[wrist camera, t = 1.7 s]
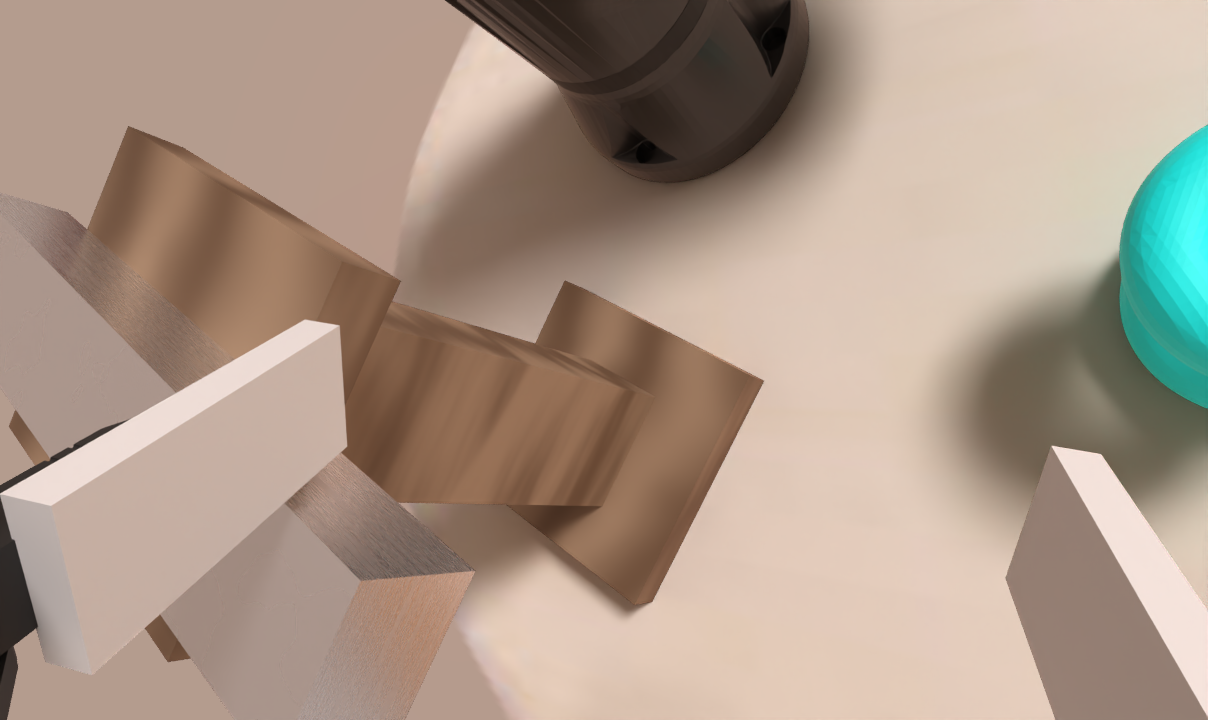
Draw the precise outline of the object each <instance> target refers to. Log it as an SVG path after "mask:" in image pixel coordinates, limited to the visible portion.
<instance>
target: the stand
mask: <svg viewBox="0 0 1208 720" xmlns="http://www.w3.org/2000/svg"><path fill="white" fill-rule="evenodd" d="M87 230H88V231H90V232H91V233H92V234H93V235H94V236H95V237H96V238H97V239H99V240H100V241H101V242H102V243H103V244H104V245H105V246H107V247H108V248H109V249H110V250H111V251H112V252H113V253H115V254H116V255H117V256H118V257H119V258H120V259H121V260H122V261H124V262H125V263H126V264H127V265H128V266H129V267H130V268H132V269H133V270H134V271H135V272H136V273H137V274H138V275H140V276H141V277H142V278H143V279H144V280H145V281H146V282H148V283H149V284H150V285H151V286H152V287H153V288H154V289H155V290H157V291H158V292H159V293H160V294H161V295H162V296H163V297H165V298H166V299H167V300H168V301H169V302H170V303H171V304H173V305H174V306H175V307H176V308H177V309H178V310H179V311H180V312H182V313H183V314H184V315H185V316H186V317H187V318H188V319H190V320H191V321H192V322H193V323H194V324H195V325H196V326H198V327H199V328H200V329H201V330H202V331H203V332H204V333H206V334H207V335H208V336H209V337H210V338H211V339H212V340H213V341H215V342H216V343H217V344H218V345H219V346H220V347H221V348H223V349H224V350H225V351H226V352H227V353H228V354H229V355H231V356H232V357H233V358H234V359H237V358H239V357H240V356H242V355H244V354H246V353H247V352H249V351H251V350H253V349H254V348H256V347H258V346H260V345H261V344H263V343H265V342H267V341H268V340H270V339H272V338H274V337H275V336H277V335H279V334H281V333H282V332H284V331H286V330H288V329H289V328H291V327H293V326H295V325H296V324H298V323H300V322H302V321H303V320H310V321H316V322H322V323H328V324H334V325H340V340H341V356H342V371H343V387H344V403H345V419H346V435H347V447H346V448H345V449H344V450H343V451H342V452H341V453H342V454H343V455H344V456H345V457H347V458H348V459H349V460H350V461H351V462H352V463H353V464H355V465H356V466H357V467H358V468H359V469H360V470H361V471H362V472H364V473H365V474H366V475H367V476H368V477H369V478H370V479H372V480H373V481H374V482H375V483H376V484H377V485H378V486H380V487H381V488H382V489H383V490H384V491H385V492H386V493H387V494H389V495H390V496H391V497H392V498H393V499H394V500H395V501H397V502H400V503H454V504H506V505H507V506H509V507H510V508H511V509H512V510H514V511H515V512H516V513H517V514H519V515H520V516H521V517H523V518H524V519H525V520H526V521H528V522H529V523H530V524H532V525H533V526H534V527H535V528H537V529H538V530H539V531H540V532H542V533H543V534H544V535H546V536H547V537H548V538H549V539H551V540H552V541H553V542H555V543H556V544H557V545H558V546H560V547H561V548H562V549H563V550H565V551H566V552H567V553H569V554H570V555H571V556H572V557H574V558H575V559H576V560H578V561H579V562H580V563H581V564H583V565H584V566H585V567H587V568H588V569H589V570H590V571H592V572H593V573H594V574H595V575H597V576H598V577H599V578H601V579H602V580H603V581H604V582H606V583H607V584H608V585H610V586H611V587H612V588H613V589H615V590H616V591H617V592H618V593H620V594H621V595H622V596H624V597H625V598H626V599H627V600H629V601H630V602H631V603H633V604H634V605H637V604H642V603H648V602H652V601H653V599H654V597H655V595H656V593H657V591H658V589H659V587H660V585H661V583H662V581H663V579H664V577H665V576H666V574H667V572H668V570H669V568H670V566H671V564H672V562H673V560H674V558H675V556H676V554H677V552H678V550H679V548H680V546H681V544H682V542H683V540H684V538H685V536H686V534H687V532H688V530H689V528H690V526H691V524H692V522H693V520H694V518H695V516H696V514H697V512H698V510H699V508H700V506H701V504H702V502H703V500H704V498H705V496H706V494H707V492H708V490H709V489H710V487H711V485H712V483H713V481H714V479H715V477H716V475H717V473H718V471H719V469H720V467H721V465H722V463H723V461H724V459H725V457H726V455H727V453H728V451H729V449H730V447H731V445H732V443H733V441H734V439H735V437H736V435H737V433H738V431H739V429H740V427H741V425H742V423H743V421H744V419H745V417H746V415H747V413H748V411H749V409H750V407H751V405H752V403H753V402H754V400H755V398H756V396H757V394H758V392H759V390H760V388H761V386H762V384H763V382H764V381H763V380H761V379H759V378H758V377H756V376H754V375H752V374H750V373H748V372H746V371H744V370H742V369H740V368H738V367H736V366H734V365H732V364H730V363H728V362H726V361H724V360H722V359H720V358H718V357H716V356H714V355H712V354H711V353H709V352H707V351H705V350H703V349H701V348H699V347H697V346H695V345H693V344H691V343H689V342H687V341H685V340H683V339H681V338H679V337H677V336H675V335H673V334H671V333H669V332H667V331H665V330H664V329H662V328H660V327H658V326H656V325H654V324H652V323H650V322H648V321H646V320H644V319H642V318H640V317H638V316H636V315H634V314H632V313H630V312H628V311H626V310H624V309H622V308H620V307H618V306H617V305H615V304H613V303H611V302H609V301H607V300H605V299H603V298H601V297H599V296H597V295H595V294H593V293H591V292H589V291H587V290H585V289H583V288H581V287H579V286H576V285H574V284H572V283H569V282H567V281H564V283H563V285H562V288H561V290H560V292H559V294H558V296H557V298H556V300H555V303H554V305H553V307H552V309H551V311H550V313H549V315H548V317H547V320H546V322H545V324H544V326H543V328H542V330H541V332H540V334H539V337H538V339H537V341H536V343H535V344H534V343H531V342H528V341H524V340H521V339H517V338H514V337H511V336H507V335H504V334H500V333H497V332H494V331H490V330H487V329H484V328H480V327H477V326H473V325H470V324H467V323H463V322H460V321H456V320H453V319H450V318H446V317H443V316H439V315H436V314H433V313H429V312H426V311H422V310H419V309H416V308H412V307H409V306H406V305H402V304H399V303H395V302H392V299H393V297H394V295H395V293H396V290H397V288H398V286H399V284H400V282H401V281H400V280H398V279H397V278H395V277H393V276H392V275H390V274H388V273H387V272H385V271H384V270H382V269H380V268H379V267H377V266H375V265H374V264H372V263H371V262H369V261H367V260H366V259H364V258H362V257H361V256H359V255H357V254H356V253H354V252H353V251H351V250H349V249H348V248H346V247H344V246H343V245H341V244H340V243H338V242H336V241H335V240H333V239H331V238H330V237H328V236H327V235H325V234H323V233H322V232H320V231H318V230H317V229H315V228H313V227H312V226H310V225H309V224H307V223H305V222H303V221H302V220H300V219H299V218H297V217H296V216H294V215H292V214H291V213H289V212H287V211H286V210H284V209H283V208H281V207H279V206H278V205H276V204H274V203H273V202H271V201H269V200H268V199H266V198H265V197H263V196H261V195H260V194H258V193H256V192H255V191H253V190H252V189H250V188H248V187H247V186H245V185H243V184H242V183H240V182H238V181H237V180H235V179H234V178H232V177H230V176H229V175H227V174H225V173H223V172H222V171H221V170H219V169H217V168H216V167H214V166H212V165H211V164H209V163H207V162H206V161H204V160H203V159H201V158H199V157H198V156H196V155H194V154H193V153H191V152H190V151H188V150H186V149H185V148H183V147H180V146H178V145H175V144H172V143H170V142H168V141H165V140H162V139H160V138H157V137H155V136H152V135H150V134H147V133H145V132H142V131H139V130H137V129H134V128H132V127H129V126H128V128H127V131H126V133H125V136H124V138H123V141H122V143H121V146H120V148H119V151H118V153H117V156H116V158H115V161H114V164H113V166H112V169H111V171H110V173H109V176H108V179H107V181H106V183H105V186H104V189H103V191H102V194H101V196H100V199H99V201H98V204H97V206H96V209H95V211H94V214H93V216H92V219H91V221H90V224H89V226H88V229H87ZM9 427H10V429H11V430H12V432H13V433H14V435H15V436H16V438H17V439H18V441H19V442H20V444H21V445H22V447H23V448H24V450H25V451H26V453H27V454H28V456H29V457H30V459H31V460H32V461H33V463H34V464H35V466H36V465H37V464H39V463H41V462H43V461H44V460H45V461H50V458H49V456H48V455H47V453H46V452H45V451H44V449H43V448H42V446H41V445H40V444H39V442H38V441H37V439H36V438H35V436H34V435H33V434H32V432H31V431H30V429H29V428H28V427H27V425H26V424H25V422H24V421H23V419H22V418H21V417H20V415H19V414H18V412H17V411H16V410H15V412H14V415H13V417H12V420H11V423H10V425H9ZM145 629H146V630H147V632H148V633H149V635H150V636H151V638H152V639H153V641H154V642H155V644H156V645H157V647H158V648H159V650H160V651H161V653H162V654H163V656H164V657H165V659H166V660H167V661H168V662H171V661H178V660H184V659H191V658H190V656H189V655H188V653H187V652H186V651H185V649H184V648H183V646H182V645H181V643H180V642H179V641H178V639H177V638H176V636H175V635H174V634H173V632H172V631H171V629H170V628H169V626H168V625H167V624H166V622H165V621H164V619H163V618H162V617H161V615H159V616H157V617H156V618H155V619H154V620H153V621H152V622H151V623H150V624H149V625H147V626H146V627H145Z"/></svg>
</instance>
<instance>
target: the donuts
mask: <svg viewBox="0 0 1208 720" xmlns="http://www.w3.org/2000/svg"><path fill="white" fill-rule="evenodd" d="M1119 260H1120V271H1121V278H1122V279H1121V285H1120V296H1119V302H1120V314H1121V320H1122V324H1123V328H1124V331H1125V334H1126V336H1127V339H1128V341H1129V343H1130V345H1131V347H1132V349H1133V350H1134V352H1135V354H1136V355H1137V357H1138V358H1139V359H1140V361H1141V362H1142V363H1143V365H1144V366H1145V367H1146V368H1147V369H1148V370H1149V371H1150V372H1151V373H1152V374H1153V375H1154V376H1155V377H1156V378H1157V379H1158V380H1159V381H1160V382H1161V383H1163V384H1164V385H1165V386H1167V387H1168V388H1169V389H1171V390H1172V391H1174V392H1175V393H1177V394H1178V395H1180V396H1182V397H1183V398H1185V399H1187V400H1189V401H1191V402H1193V403H1195V404H1197V405H1200V406H1202V407H1204V408H1207V409H1208V125H1206V126H1204V127H1203V128H1201V129H1200V130H1198V131H1197V132H1195V133H1193V134H1192V135H1191V136H1189V137H1188V138H1187V139H1185V140H1184V141H1183V142H1181V143H1180V144H1179V145H1178V146H1176V147H1175V148H1174V149H1173V150H1172V151H1171V152H1170V153H1168V154H1167V155H1166V156H1165V157H1164V158H1163V159H1162V160H1161V161H1160V162H1159V163H1158V164H1157V165H1156V167H1155V168H1154V169H1153V170H1152V171H1151V173H1150V174H1149V175H1148V176H1147V178H1146V179H1145V180H1144V182H1143V183H1142V185H1141V186H1140V188H1139V189H1138V191H1137V193H1136V195H1135V196H1134V198H1133V201H1132V203H1131V205H1130V207H1129V209H1128V212H1127V215H1126V218H1125V220H1124V224H1123V229H1122V233H1121V240H1120V253H1119Z"/></svg>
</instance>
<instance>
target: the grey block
mask: <svg viewBox="0 0 1208 720" xmlns="http://www.w3.org/2000/svg"><path fill="white" fill-rule="evenodd" d="M233 360H235V359H234V358H233V357H232V356H231V355H229V354H228V353H227V352H226V351H225V350H224V349H223V348H221V347H220V346H219V345H218V344H217V343H216V342H215V341H213V340H212V339H211V338H210V337H209V336H208V335H207V334H206V333H204V332H203V331H202V330H201V329H200V328H199V327H198V326H196V325H195V324H194V323H193V322H192V321H191V320H190V319H188V318H187V317H186V316H185V315H184V314H183V313H182V312H180V311H179V310H178V309H177V308H176V307H175V306H174V305H173V304H171V303H170V302H169V301H168V300H167V299H166V298H165V297H163V296H162V295H161V294H160V293H159V292H158V291H157V290H155V289H154V288H153V287H152V286H151V285H150V284H149V283H148V282H146V281H145V280H144V279H143V278H142V277H141V276H140V275H138V274H137V273H136V272H135V271H134V270H133V269H132V268H130V267H129V266H128V265H127V264H126V263H125V262H124V261H122V260H121V259H120V258H119V257H118V256H117V255H116V254H115V253H113V252H112V251H111V250H110V249H109V248H108V247H107V246H105V245H104V244H103V243H102V242H101V241H100V240H99V239H97V238H96V237H95V236H94V235H93V234H92V233H91V232H90V231H88V230H87V229H86V228H85V227H84V226H83V225H82V224H80V223H79V222H78V221H77V220H76V219H75V218H74V217H72V216H71V215H70V214H69V213H68V212H65V211H61V210H58V209H54V208H51V207H47V206H44V205H41V204H37V203H34V202H30V201H27V200H23V199H20V198H16V197H13V196H9V195H6V194H2V193H0V388H1V390H2V391H3V392H4V394H5V395H6V397H7V398H8V399H9V401H10V402H11V404H12V405H13V407H14V408H15V409H16V411H17V412H18V414H19V415H20V417H21V418H22V419H23V421H24V422H25V424H26V425H27V427H28V428H29V429H30V431H31V432H32V434H33V435H34V436H35V438H36V439H37V441H38V442H39V444H40V445H41V446H42V448H43V449H44V451H45V452H46V453H47V455H48V456H49V458H50V457H52V456H53V455H55V454H57V453H59V452H61V451H62V450H64V449H66V448H68V447H69V448H73V446H74V444H75V443H77V442H78V441H80V440H82V439H84V438H85V437H87V436H89V435H91V434H93V433H94V432H96V431H98V430H100V429H102V428H104V427H107V426H110V425H113V424H116V423H119V422H123V421H126V420H129V419H132V418H133V417H135V416H137V415H139V414H140V413H142V412H144V411H146V410H147V409H149V408H151V407H153V406H154V405H156V404H158V403H160V402H161V401H163V400H165V399H167V398H168V397H170V396H172V395H174V394H175V393H177V392H179V391H181V390H182V389H184V388H186V387H188V386H189V385H191V384H193V383H195V382H196V381H198V380H200V379H202V378H203V377H205V376H207V375H209V374H211V373H212V372H214V371H216V370H218V369H219V368H221V367H223V366H225V365H226V364H228V363H230V362H232V361H233ZM474 573H475V570H474V569H473V568H472V567H471V566H469V565H468V564H467V563H466V562H465V561H464V560H463V559H461V558H460V557H459V556H458V555H457V554H456V553H455V552H453V551H452V550H451V549H450V548H449V547H448V546H447V545H445V544H444V543H443V542H442V541H441V540H440V539H439V538H438V537H436V536H435V535H434V534H433V533H432V532H431V531H430V530H428V529H427V528H426V527H425V526H424V525H423V524H422V523H420V522H419V521H418V520H417V519H416V518H415V517H414V516H413V515H411V514H410V513H409V512H408V511H407V510H405V509H404V508H403V507H402V506H401V505H400V504H399V503H398V502H397V501H395V500H394V499H393V498H392V497H391V496H390V495H389V494H387V493H386V492H385V491H384V490H383V489H382V488H381V487H380V486H378V485H377V484H376V483H375V482H374V481H373V480H372V479H370V478H369V477H368V476H367V475H366V474H365V473H364V472H362V471H361V470H360V469H359V468H358V467H357V466H356V465H355V464H353V463H352V462H351V461H350V460H349V459H348V458H347V457H345V456H344V455H343V454H342V453H339V454H338V455H337V456H336V457H335V458H334V459H333V460H332V461H330V462H329V463H328V464H327V465H326V466H325V467H324V468H323V469H322V470H320V471H319V472H318V473H317V474H316V475H315V476H314V477H313V478H311V479H310V480H309V481H308V482H307V483H306V484H305V485H304V486H303V487H301V488H300V489H299V490H298V491H297V492H296V493H295V494H294V495H293V496H291V497H290V498H289V499H288V500H287V501H286V502H285V503H284V504H282V505H281V506H280V507H279V508H278V509H277V510H276V511H275V512H274V513H272V514H271V515H270V516H269V517H268V518H267V519H266V520H265V521H263V522H262V523H261V524H260V525H259V526H258V527H257V528H256V529H255V530H253V531H252V532H251V533H250V534H249V535H248V536H247V537H246V538H245V539H243V540H242V541H241V542H240V543H239V544H238V545H237V546H236V547H234V548H233V549H232V550H231V551H230V552H229V553H228V554H227V555H226V556H224V557H223V558H222V559H221V560H220V561H219V562H218V563H217V564H216V565H214V566H213V567H212V568H211V569H210V570H209V571H208V572H207V573H205V574H204V575H203V576H202V577H201V578H200V579H199V580H198V581H197V582H195V583H194V584H193V585H192V586H191V587H190V588H189V589H188V590H186V591H185V592H184V593H183V594H182V595H181V596H180V597H179V598H178V599H176V600H175V601H174V602H173V603H172V604H171V605H170V606H169V607H168V608H166V609H165V610H164V611H163V612H162V613H161V614H160V615H161V617H162V618H163V619H164V621H165V622H166V624H167V625H168V626H169V628H170V629H171V631H172V632H173V634H174V635H175V636H176V638H177V639H178V641H179V642H180V643H181V645H182V646H183V648H184V649H185V651H186V652H187V653H188V655H189V656H190V658H191V659H192V661H194V663H195V664H196V666H197V667H198V669H199V670H200V672H201V673H202V675H203V676H204V678H205V679H206V680H207V682H208V683H209V685H210V686H211V687H212V689H213V690H214V691H215V693H216V694H217V696H218V697H219V699H220V700H221V702H222V703H223V704H224V706H225V707H226V709H227V710H228V711H229V713H230V714H231V716H232V717H233V718H234V720H405V718H406V716H407V714H408V712H409V710H410V708H411V705H412V704H413V702H414V699H415V697H416V695H417V693H418V691H419V689H420V687H421V685H422V683H423V680H424V678H425V676H426V674H427V672H428V670H429V668H430V666H431V664H432V662H433V659H434V657H435V655H436V653H437V651H438V649H439V647H440V645H441V643H442V641H443V638H444V636H445V634H446V632H447V630H448V628H449V626H450V624H451V622H452V620H453V617H454V615H455V613H456V611H457V609H458V607H459V605H460V603H461V601H462V599H463V596H464V594H465V592H466V590H467V588H468V586H469V584H470V582H471V580H472V577H473V575H474Z"/></svg>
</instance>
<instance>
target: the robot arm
mask: <svg viewBox="0 0 1208 720" xmlns="http://www.w3.org/2000/svg"><path fill="white" fill-rule="evenodd" d="M445 1H447V2H448V3H449V4H451V5H452V6H453V7H455V8H456V9H457V10H459V11H460V12H462V13H463V14H465V15H466V16H467V17H468V18H470V19H471V20H472V21H474V22H475V23H476V24H478V25H479V26H480V27H482V28H483V29H484V30H486V31H487V32H488V33H490V34H491V35H492V36H494V37H495V38H496V39H498V40H499V41H500V42H502V43H503V44H504V45H506V46H507V47H509V48H510V49H511V50H513V51H514V52H515V53H517V54H518V55H519V56H521V57H522V58H523V59H525V60H526V61H527V62H529V63H530V64H531V65H533V66H534V67H535V68H537V69H538V70H539V71H541V72H542V73H543V74H545V75H546V76H547V77H549V78H550V79H551V80H553V81H554V82H555V83H556V84H557V86H558V87H559V89H560V91H561V93H562V95H563V97H564V99H565V100H566V102H567V104H568V106H569V108H570V110H571V112H572V113H573V115H574V117H575V119H576V121H577V123H578V125H579V126H580V128H581V130H582V132H583V134H584V135H585V137H586V138H587V140H588V141H589V142H590V143H591V144H592V146H593V147H594V148H595V149H596V150H597V151H598V152H599V153H600V154H602V155H603V156H604V157H605V158H607V159H608V160H610V161H611V162H612V163H614V164H615V165H617V166H618V167H620V168H621V169H622V170H624V171H626V172H627V173H629V174H631V175H633V176H636V177H638V178H641V179H645V180H649V181H655V182H679V181H686V180H691V179H695V178H698V177H701V176H704V175H707V174H710V173H712V172H714V171H716V170H718V169H720V168H722V167H724V166H726V165H728V164H729V163H731V162H733V161H734V160H736V159H737V158H739V157H740V156H742V155H743V154H744V153H745V152H747V151H748V150H749V149H750V148H752V147H753V146H754V145H755V144H756V143H757V142H758V141H759V140H760V139H761V138H762V137H763V136H764V135H765V134H766V133H767V132H768V131H769V130H770V128H771V127H772V126H773V125H774V123H775V122H776V121H777V120H778V118H779V117H780V115H781V114H782V113H783V111H784V110H785V108H786V106H787V105H788V103H789V101H790V99H791V97H792V96H793V94H794V92H795V89H796V87H797V85H798V83H799V80H800V77H801V75H802V71H803V68H804V65H805V61H806V56H807V50H808V42H809V22H808V14H807V9H806V5H805V1H804V0H445ZM346 447H347V435H346V419H345V403H344V387H343V371H342V356H341V340H340V325H334V324H328V323H322V322H316V321H310V320H303V321H302V322H300V323H298V324H296V325H295V326H293V327H291V328H289V329H288V330H286V331H284V332H282V333H281V334H279V335H277V336H275V337H274V338H272V339H270V340H268V341H267V342H265V343H263V344H261V345H260V346H258V347H256V348H254V349H253V350H251V351H249V352H247V353H246V354H244V355H242V356H240V357H239V358H237V359H235V360H233V361H232V362H230V363H228V364H226V365H225V366H223V367H221V368H219V369H218V370H216V371H214V372H212V373H211V374H209V375H207V376H205V377H203V378H202V379H200V380H198V381H196V382H195V383H193V384H191V385H189V386H188V387H186V388H184V389H182V390H181V391H179V392H177V393H175V394H174V395H172V396H170V397H168V398H167V399H165V400H163V401H161V402H160V403H158V404H156V405H154V406H153V407H151V408H149V409H147V410H146V411H144V412H142V413H140V414H139V415H137V416H135V417H133V418H132V419H129V420H126V421H123V422H119V423H116V424H113V425H110V426H107V427H104V428H102V429H100V430H98V431H96V432H94V433H93V434H91V435H89V436H87V437H85V438H84V439H82V440H80V441H78V442H77V443H75V444H74V446H73V448H69V447H68V448H66V449H64V450H62V451H61V452H59V453H57V454H55V455H53V456H52V457H50V461H45V460H44V461H43V462H41V463H39V464H37V465H36V466H34V467H32V468H30V469H28V470H27V471H25V472H23V473H21V474H20V475H18V476H16V477H14V478H13V479H11V480H9V481H7V482H5V483H3V484H2V485H0V720H7V717H8V712H9V707H10V703H11V698H12V693H13V688H14V684H15V679H16V674H17V670H18V664H17V657H16V653H15V650H14V647H13V646H14V645H15V644H16V643H18V642H19V641H20V640H21V639H23V638H24V637H25V636H27V635H28V634H29V633H30V632H32V631H33V630H34V629H35V628H36V629H37V633H38V637H39V640H40V644H41V648H42V652H43V655H44V659H45V662H47V663H51V664H54V665H58V666H62V667H65V668H69V669H72V670H76V671H80V672H83V673H87V674H90V675H93V674H94V673H95V672H96V671H97V670H98V669H99V668H100V667H102V666H103V665H104V664H105V663H106V662H107V661H108V660H109V659H110V658H112V657H113V656H114V655H115V654H116V653H117V652H118V651H119V650H121V649H122V648H123V647H124V646H125V645H126V644H127V643H128V642H130V641H131V640H132V639H133V638H134V637H135V636H136V635H137V634H139V633H140V632H141V631H142V630H143V629H144V628H145V627H146V626H147V625H149V624H150V623H151V622H152V621H153V620H154V619H155V618H156V617H157V616H159V615H160V614H161V613H162V612H163V611H164V610H165V609H166V608H168V607H169V606H170V605H171V604H172V603H173V602H174V601H175V600H176V599H178V598H179V597H180V596H181V595H182V594H183V593H184V592H185V591H186V590H188V589H189V588H190V587H191V586H192V585H193V584H194V583H195V582H197V581H198V580H199V579H200V578H201V577H202V576H203V575H204V574H205V573H207V572H208V571H209V570H210V569H211V568H212V567H213V566H214V565H216V564H217V563H218V562H219V561H220V560H221V559H222V558H223V557H224V556H226V555H227V554H228V553H229V552H230V551H231V550H232V549H233V548H234V547H236V546H237V545H238V544H239V543H240V542H241V541H242V540H243V539H245V538H246V537H247V536H248V535H249V534H250V533H251V532H252V531H253V530H255V529H256V528H257V527H258V526H259V525H260V524H261V523H262V522H263V521H265V520H266V519H267V518H268V517H269V516H270V515H271V514H272V513H274V512H275V511H276V510H277V509H278V508H279V507H280V506H281V505H282V504H284V503H285V502H286V501H287V500H288V499H289V498H290V497H291V496H293V495H294V494H295V493H296V492H297V491H298V490H299V489H300V488H301V487H303V486H304V485H305V484H306V483H307V482H308V481H309V480H310V479H311V478H313V477H314V476H315V475H316V474H317V473H318V472H319V471H320V470H322V469H323V468H324V467H325V466H326V465H327V464H328V463H329V462H330V461H332V460H333V459H334V458H335V457H336V456H337V455H338V454H339V453H341V452H342V451H343V450H344V449H345V448H346ZM1006 581H1007V584H1008V587H1009V590H1010V592H1011V595H1012V598H1013V601H1014V604H1015V606H1016V609H1017V612H1018V615H1019V618H1020V621H1021V623H1022V626H1023V629H1024V632H1025V635H1026V638H1027V640H1028V643H1029V646H1030V649H1031V652H1032V655H1033V657H1034V660H1035V663H1036V666H1037V669H1038V672H1039V674H1040V677H1041V680H1042V683H1043V686H1044V688H1045V691H1046V694H1047V697H1048V700H1049V703H1050V705H1051V708H1052V711H1053V714H1054V717H1055V720H1208V610H1207V609H1206V607H1205V606H1204V604H1203V603H1202V601H1201V600H1200V598H1199V597H1198V595H1197V594H1196V593H1195V591H1194V590H1193V588H1192V587H1191V585H1190V584H1189V582H1188V581H1187V579H1186V578H1185V576H1184V575H1183V573H1182V572H1181V571H1180V569H1179V568H1178V566H1177V565H1176V563H1175V562H1174V560H1173V559H1172V557H1171V556H1170V554H1169V553H1168V551H1167V550H1166V549H1165V547H1164V546H1163V544H1162V543H1161V541H1160V540H1159V538H1158V537H1157V535H1156V534H1155V532H1154V531H1153V530H1152V528H1151V527H1150V525H1149V524H1148V522H1147V521H1146V519H1145V518H1144V516H1143V515H1142V513H1141V512H1140V510H1139V509H1138V508H1137V506H1136V505H1135V503H1134V502H1133V500H1132V499H1131V497H1130V496H1129V494H1128V493H1127V491H1126V490H1125V488H1124V487H1123V486H1122V484H1121V483H1120V481H1119V480H1118V478H1117V477H1116V475H1115V474H1114V472H1113V471H1112V469H1111V468H1110V467H1109V465H1108V464H1107V462H1106V461H1105V459H1104V458H1103V456H1102V455H1101V454H1098V453H1092V452H1086V451H1080V450H1074V449H1068V448H1062V447H1056V446H1051V448H1050V451H1049V453H1048V456H1047V459H1046V462H1045V465H1044V468H1043V471H1042V474H1041V477H1040V480H1039V482H1038V485H1037V488H1036V491H1035V494H1034V497H1033V500H1032V503H1031V506H1030V508H1029V511H1028V514H1027V517H1026V520H1025V523H1024V526H1023V529H1022V532H1021V535H1020V537H1019V540H1018V543H1017V546H1016V549H1015V552H1014V555H1013V558H1012V561H1011V563H1010V566H1009V569H1008V572H1007V575H1006Z"/></svg>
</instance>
